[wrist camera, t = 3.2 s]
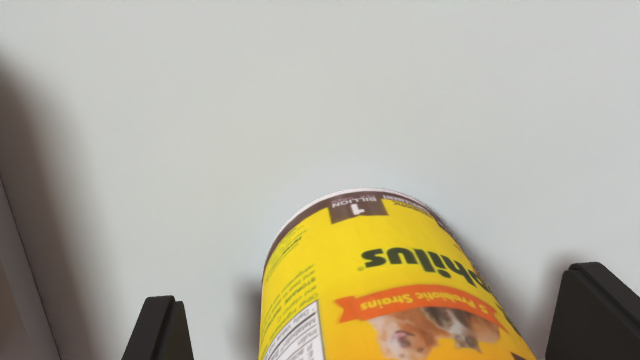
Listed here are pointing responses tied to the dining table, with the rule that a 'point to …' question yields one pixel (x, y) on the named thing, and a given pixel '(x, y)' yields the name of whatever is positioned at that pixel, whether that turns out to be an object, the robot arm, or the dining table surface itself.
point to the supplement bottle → (377, 287)
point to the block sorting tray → (20, 299)
